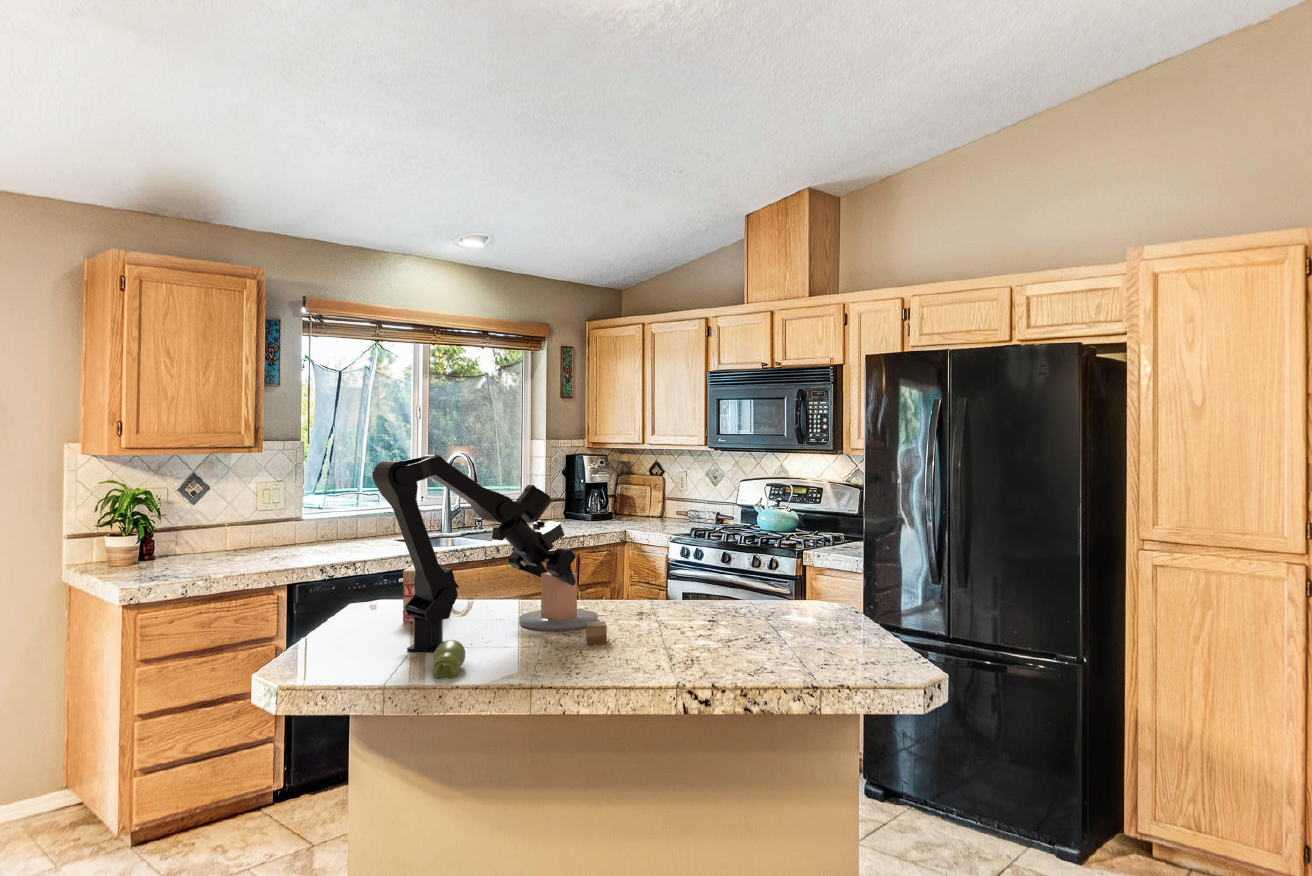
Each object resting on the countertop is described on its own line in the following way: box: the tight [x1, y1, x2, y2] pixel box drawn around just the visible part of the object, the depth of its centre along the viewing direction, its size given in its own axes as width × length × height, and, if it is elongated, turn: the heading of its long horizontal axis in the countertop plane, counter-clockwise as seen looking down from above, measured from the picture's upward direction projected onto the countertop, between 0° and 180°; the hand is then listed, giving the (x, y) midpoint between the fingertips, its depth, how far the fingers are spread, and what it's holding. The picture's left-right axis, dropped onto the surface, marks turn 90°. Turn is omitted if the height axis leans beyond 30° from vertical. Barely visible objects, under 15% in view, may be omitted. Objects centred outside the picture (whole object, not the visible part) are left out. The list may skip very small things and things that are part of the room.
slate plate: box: [518, 608, 599, 632], centre depth 193 cm, size 18×18×1 cm
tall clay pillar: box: [540, 572, 578, 620], centre depth 193 cm, size 6×6×10 cm
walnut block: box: [585, 620, 608, 646], centre depth 174 cm, size 4×4×4 cm
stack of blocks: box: [402, 561, 449, 623], centre depth 203 cm, size 21×6×12 cm, turn 2°
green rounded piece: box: [432, 639, 466, 679], centre depth 153 cm, size 6×5×10 cm
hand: (561, 581), depth 194 cm, fingers open, 9 cm apart
